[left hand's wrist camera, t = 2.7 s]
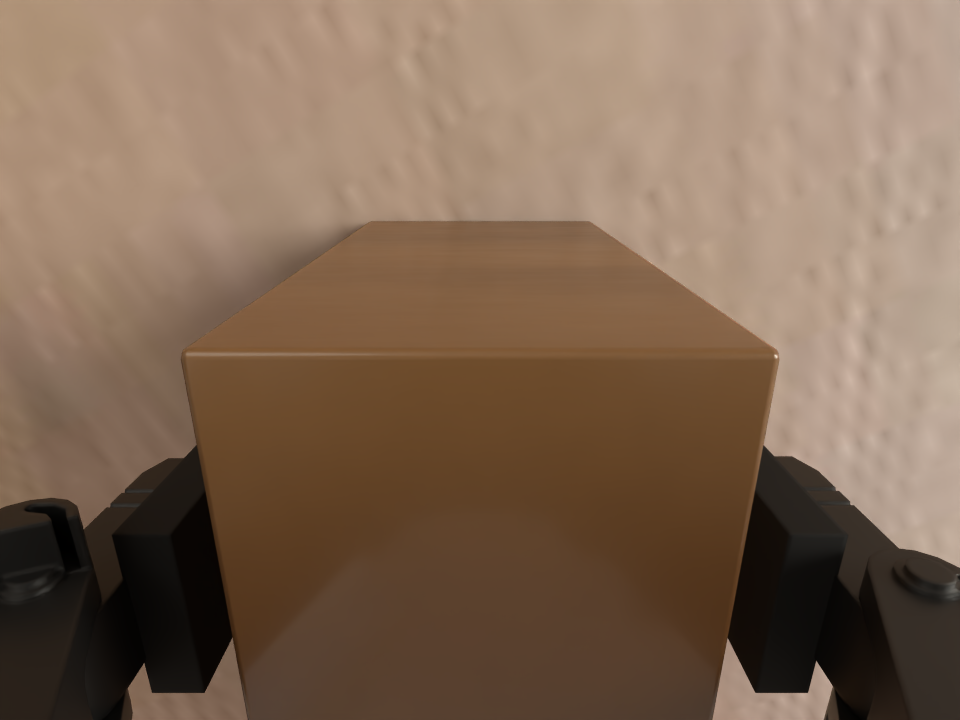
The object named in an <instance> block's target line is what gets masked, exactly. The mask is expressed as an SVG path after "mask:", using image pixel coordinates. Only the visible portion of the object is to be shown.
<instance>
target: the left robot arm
mask: <svg viewBox="0 0 960 720" xmlns="http://www.w3.org/2000/svg"><path fill="white" fill-rule="evenodd" d="M232 637H233V636H232V631H231V626H230V620H229V615H228V609H227V604H226V599H225V593H224V588H223V583H222V577H221V572H220V566H219V561H218V556H217V550H216V545H215V540H214V534H213V529H212V523H211V518H210V513H209V507H208V502H207V497H206V491H205V486H204V480H203V475H202V470H201V464H200V459H199V454H198V448H197V445H196V446H195V447H194V448H193V449H192V450H191V452H190V453H189V454H188V455H187V456H186V457H185V458H168V459H167V460H165V461H163V462H161V463H159V464H158V465H156V466H154V467H152V468H150V469H149V470H147V471H145V472H143V473H142V474H141V475H140V476H139V477H138V478H137V479H136V480H135V481H134V482H133V483H132V484H131V485H129V486H128V487H127V488H126V489H125V493H121V494H120V495H119V496H118V497H117V498H116V499H115V500H114V501H113V502H112V503H111V506H110V508H106V509H105V510H104V511H103V512H102V513H101V514H100V515H98V516H97V517H96V518H95V519H94V520H93V521H92V522H91V523H90V524H89V525H88V526H87V527H86V528H85V529H83V525H82V522H81V518H80V514H79V511H78V507H77V506H76V505H75V504H73V503H72V502H70V501H69V500H64V499H55V498H47V499H37V500H29V501H25V502H21V503H18V504H14V505H10V506H6V507H3V508H1V509H0V720H132V714H133V712H132V705H131V699H130V696H129V692H128V689H127V688H128V687H129V685H130V684H131V682H132V681H133V679H134V678H135V676H136V675H137V673H138V671H139V670H140V668H141V667H142V665H143V664H144V663H145V667H146V671H147V675H148V679H149V683H150V687H151V690H152V693H205V691H206V689H207V687H208V685H209V683H210V681H211V679H212V677H213V675H214V673H215V671H216V669H217V667H218V665H219V663H220V661H221V659H222V657H223V655H224V653H225V651H226V649H227V647H228V645H229V643H230V641H231V639H232ZM728 639H729V641H730V643H731V645H732V647H733V649H734V651H735V653H736V655H737V657H738V659H739V661H740V663H741V665H742V667H743V669H744V671H745V673H746V675H747V677H748V679H749V681H750V683H751V685H752V687H753V689H754V691H755V693H808V690H809V687H810V683H811V679H812V675H813V671H814V667H815V663H816V661H817V662H818V664H819V665H820V667H821V668H822V670H823V671H824V673H825V674H826V676H827V678H828V679H829V681H830V682H831V684H832V685H833V689H832V692H831V696H830V699H829V703H828V707H827V710H826V714H825V718H824V720H960V568H959V567H957V566H955V565H952V564H950V563H948V562H946V561H944V560H942V559H940V558H938V557H934V556H931V555H928V554H925V553H921V552H918V551H914V550H906V549H899V548H898V547H897V546H896V545H895V544H894V543H893V542H891V541H890V540H889V539H888V538H887V537H886V536H885V535H884V534H883V533H882V532H881V531H880V530H879V529H878V528H877V527H876V526H875V525H874V524H873V523H872V522H871V521H870V520H869V519H868V518H866V517H865V516H864V515H863V514H862V513H861V512H860V511H859V510H858V509H857V508H856V507H855V506H854V505H850V501H849V500H848V499H847V498H846V497H845V496H844V495H843V494H842V493H840V492H839V491H836V490H835V487H834V486H833V485H832V484H831V483H830V482H829V481H828V480H827V479H826V478H825V477H824V476H823V475H822V474H821V473H820V472H819V471H817V470H815V469H814V468H812V467H810V466H808V465H806V464H805V463H803V462H801V461H799V460H797V459H796V458H794V457H792V456H773V455H772V454H771V453H770V452H769V450H768V449H767V448H766V447H765V446H764V445H763V450H762V455H761V460H760V466H759V471H758V476H757V482H756V487H755V493H754V498H753V503H752V509H751V514H750V519H749V525H748V530H747V536H746V541H745V546H744V552H743V557H742V562H741V568H740V573H739V578H738V584H737V589H736V595H735V600H734V605H733V611H732V616H731V621H730V627H729V632H728Z"/></svg>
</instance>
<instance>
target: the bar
mask: <svg viewBox="0 0 960 720" xmlns="http://www.w3.org/2000/svg"><path fill="white" fill-rule="evenodd" d="M181 362H182V368H183V373H184V378H185V384H186V389H187V395H188V400H189V405H190V411H191V416H192V421H193V427H194V432H195V438H196V443H197V448H198V454H199V459H200V464H201V470H202V475H203V480H204V486H205V491H206V497H207V502H208V507H209V513H210V518H211V523H212V529H213V534H214V540H215V545H216V550H217V556H218V561H219V566H220V572H221V577H222V583H223V588H224V593H225V599H226V604H227V609H228V615H229V620H230V626H231V631H232V636H233V642H234V647H235V652H236V658H237V663H238V669H239V674H240V679H241V685H242V690H243V695H244V701H245V706H246V711H247V717H248V720H712V718H713V713H714V707H715V702H716V697H717V691H718V686H719V680H720V675H721V670H722V664H723V659H724V654H725V648H726V643H727V638H728V632H729V627H730V621H731V616H732V611H733V605H734V600H735V595H736V589H737V584H738V578H739V573H740V568H741V562H742V557H743V552H744V546H745V541H746V536H747V530H748V525H749V519H750V514H751V509H752V503H753V498H754V493H755V487H756V482H757V476H758V471H759V466H760V460H761V455H762V450H763V444H764V439H765V434H766V428H767V423H768V417H769V412H770V407H771V401H772V396H773V391H774V385H775V380H776V375H777V369H778V364H779V355H778V351H777V350H776V349H775V348H773V347H772V346H771V345H769V344H768V343H766V342H765V341H763V340H762V339H760V338H759V337H757V336H756V335H754V334H753V333H752V332H750V331H749V330H747V329H746V328H744V327H743V326H741V325H740V324H738V323H737V322H736V321H734V320H733V319H731V318H730V317H728V316H727V315H725V314H724V313H722V312H721V311H720V310H718V309H717V308H715V307H714V306H712V305H711V304H709V303H708V302H706V301H705V300H704V299H702V298H701V297H699V296H698V295H696V294H695V293H693V292H692V291H690V290H689V289H687V288H686V287H685V286H683V285H682V284H680V283H679V282H677V281H676V280H674V279H673V278H671V277H670V276H669V275H667V274H666V273H664V272H663V271H661V270H660V269H658V268H657V267H655V266H654V265H653V264H651V263H650V262H648V261H647V260H645V259H644V258H642V257H641V256H639V255H638V254H637V253H635V252H634V251H632V250H631V249H629V248H628V247H626V246H625V245H623V244H622V243H620V242H619V241H618V240H616V239H615V238H613V237H612V236H610V235H609V234H607V233H606V232H604V231H603V230H602V229H600V228H599V227H597V226H596V225H594V224H593V223H591V222H589V221H371V222H369V223H367V224H366V225H364V226H363V227H362V228H360V229H359V230H357V231H356V232H354V233H353V234H351V235H350V236H348V237H347V238H346V239H344V240H343V241H341V242H340V243H338V244H337V245H335V246H334V247H332V248H331V249H330V250H328V251H327V252H325V253H324V254H322V255H321V256H319V257H318V258H316V259H315V260H313V261H312V262H311V263H309V264H308V265H306V266H305V267H303V268H302V269H300V270H299V271H297V272H296V273H295V274H293V275H292V276H290V277H289V278H287V279H286V280H284V281H283V282H281V283H280V284H279V285H277V286H276V287H274V288H273V289H271V290H270V291H268V292H267V293H265V294H264V295H263V296H261V297H260V298H258V299H257V300H255V301H254V302H252V303H251V304H249V305H248V306H247V307H245V308H244V309H242V310H241V311H239V312H238V313H236V314H235V315H233V316H232V317H231V318H229V319H228V320H226V321H225V322H223V323H222V324H220V325H219V326H217V327H216V328H214V329H213V330H212V331H210V332H209V333H207V334H206V335H204V336H203V337H201V338H200V339H198V340H197V341H196V342H194V343H193V344H191V345H190V346H188V347H187V348H185V349H184V350H183V352H182V356H181Z"/></svg>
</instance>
